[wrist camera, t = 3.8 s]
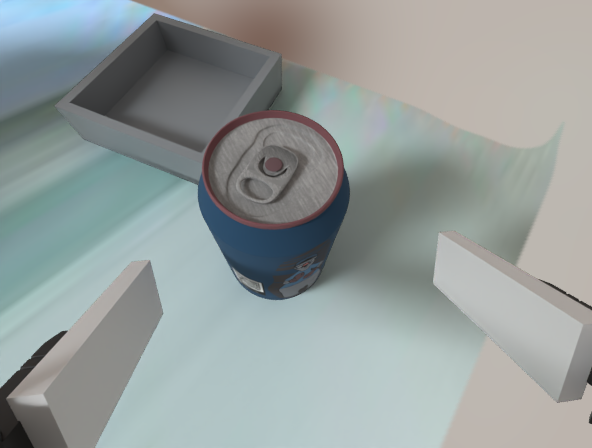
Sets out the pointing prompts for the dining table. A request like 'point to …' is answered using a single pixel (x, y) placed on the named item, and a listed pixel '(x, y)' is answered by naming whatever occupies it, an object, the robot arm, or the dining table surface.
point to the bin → (171, 94)
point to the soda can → (274, 199)
